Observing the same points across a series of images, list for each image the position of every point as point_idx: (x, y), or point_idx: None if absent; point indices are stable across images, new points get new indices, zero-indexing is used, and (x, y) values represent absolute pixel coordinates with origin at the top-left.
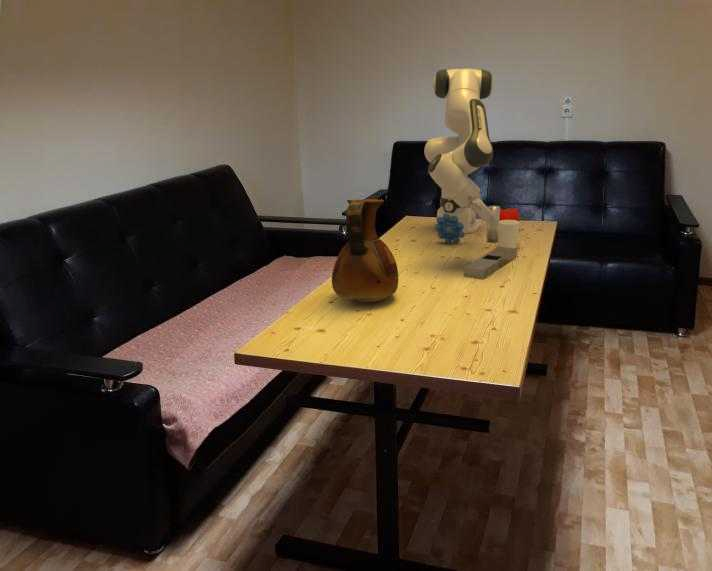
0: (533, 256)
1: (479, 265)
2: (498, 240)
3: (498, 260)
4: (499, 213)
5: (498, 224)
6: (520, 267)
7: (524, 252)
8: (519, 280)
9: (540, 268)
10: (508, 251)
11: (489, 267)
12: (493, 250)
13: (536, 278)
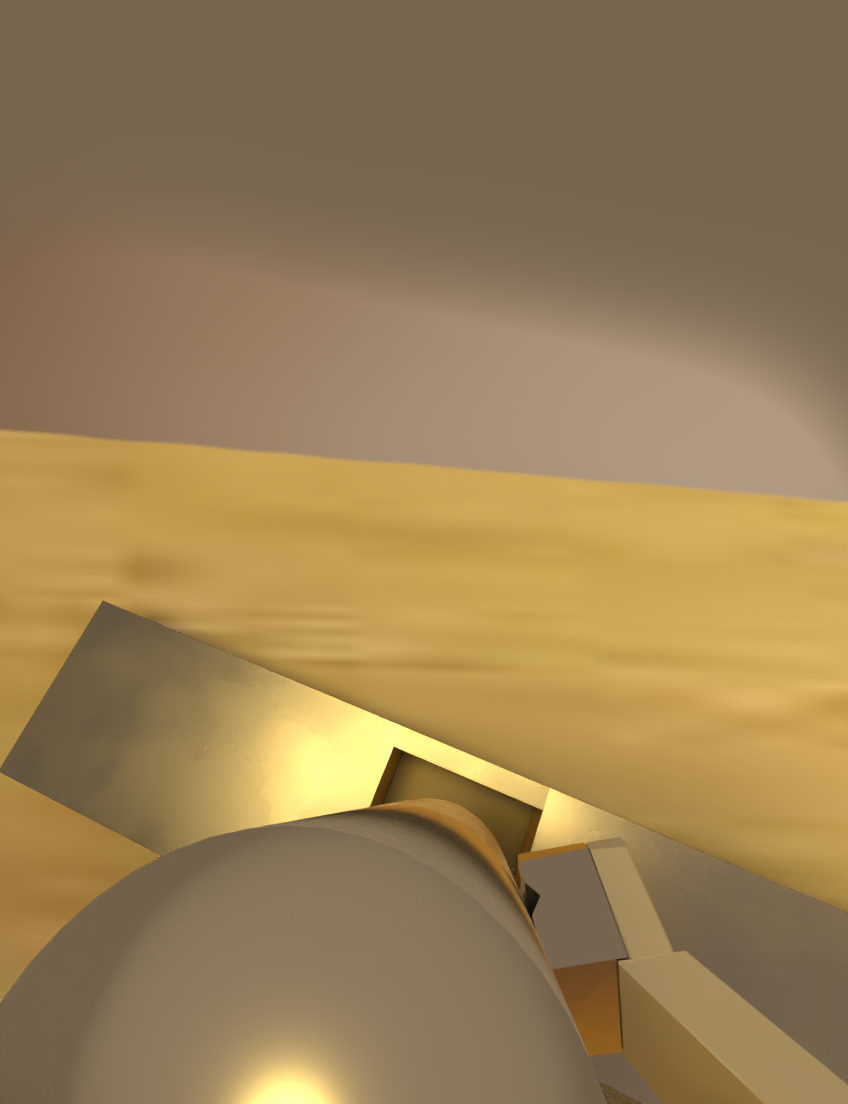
0: (142, 504)
1: (801, 1025)
2: (440, 799)
3: (543, 790)
4: (419, 825)
5: (461, 824)
6: (455, 604)
7: (21, 561)
8: (833, 624)
9: (465, 472)
10: (197, 681)
11: (809, 897)
12: (151, 833)
13: (736, 506)
